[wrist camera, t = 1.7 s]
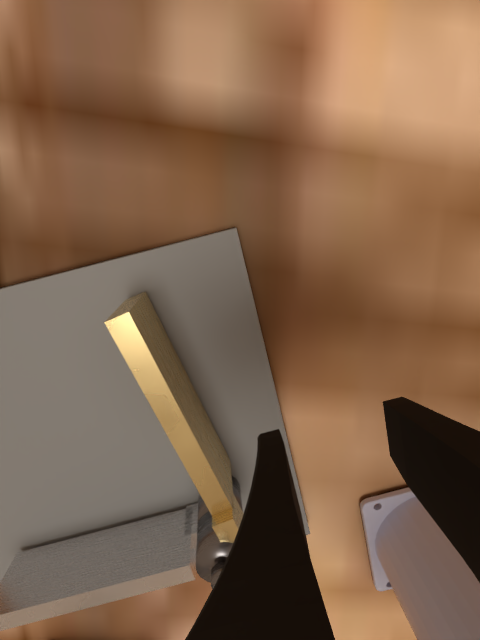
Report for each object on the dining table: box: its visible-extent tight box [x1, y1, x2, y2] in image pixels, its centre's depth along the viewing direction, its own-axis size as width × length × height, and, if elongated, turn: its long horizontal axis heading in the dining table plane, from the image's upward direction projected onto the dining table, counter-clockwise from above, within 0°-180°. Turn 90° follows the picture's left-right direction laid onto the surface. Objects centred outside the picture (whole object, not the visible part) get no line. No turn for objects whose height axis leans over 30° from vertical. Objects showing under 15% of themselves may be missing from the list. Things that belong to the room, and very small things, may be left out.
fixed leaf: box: [0, 476, 243, 631], centre depth 18 cm, size 13×3×5 cm, turn 104°
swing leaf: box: [104, 292, 244, 582], centre depth 16 cm, size 3×13×4 cm, turn 22°
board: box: [0, 227, 310, 582], centre depth 19 cm, size 19×19×1 cm
